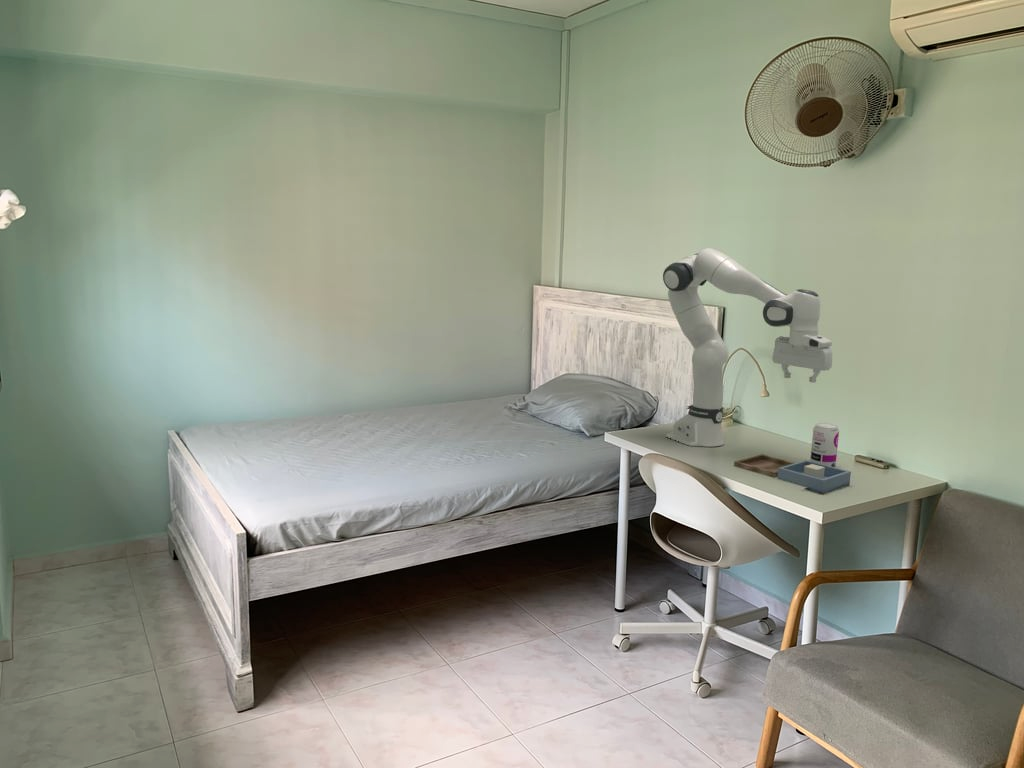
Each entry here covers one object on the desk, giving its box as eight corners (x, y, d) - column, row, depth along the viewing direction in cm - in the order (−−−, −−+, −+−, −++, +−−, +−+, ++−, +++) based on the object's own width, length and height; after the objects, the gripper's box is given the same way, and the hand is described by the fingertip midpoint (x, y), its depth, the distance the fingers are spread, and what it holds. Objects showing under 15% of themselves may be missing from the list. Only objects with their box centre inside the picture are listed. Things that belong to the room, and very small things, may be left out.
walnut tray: (733, 468, 271) (734, 461, 271) (761, 461, 281) (761, 454, 281) (774, 480, 259) (775, 473, 259) (802, 472, 269) (802, 465, 268)
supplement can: (836, 466, 276) (841, 424, 274) (832, 472, 269) (837, 429, 267) (812, 462, 280) (816, 421, 278) (807, 468, 273) (811, 426, 271)
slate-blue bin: (777, 481, 258) (778, 468, 258) (804, 472, 268) (805, 460, 267) (822, 494, 246) (823, 480, 245) (849, 485, 256) (850, 471, 255)
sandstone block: (803, 479, 257) (804, 466, 256) (810, 477, 260) (812, 464, 259) (815, 483, 254) (817, 469, 253) (823, 480, 257) (824, 467, 256)
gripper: (770, 336, 270) (767, 376, 272) (826, 343, 254) (822, 385, 256) (781, 334, 273) (777, 374, 276) (836, 341, 258) (832, 383, 260)
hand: (799, 380), depth 266 cm, fingers open, 8 cm apart
